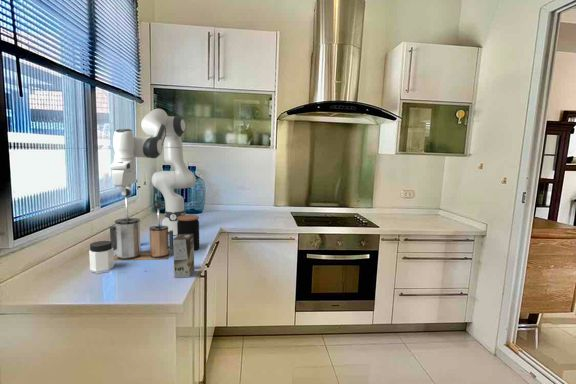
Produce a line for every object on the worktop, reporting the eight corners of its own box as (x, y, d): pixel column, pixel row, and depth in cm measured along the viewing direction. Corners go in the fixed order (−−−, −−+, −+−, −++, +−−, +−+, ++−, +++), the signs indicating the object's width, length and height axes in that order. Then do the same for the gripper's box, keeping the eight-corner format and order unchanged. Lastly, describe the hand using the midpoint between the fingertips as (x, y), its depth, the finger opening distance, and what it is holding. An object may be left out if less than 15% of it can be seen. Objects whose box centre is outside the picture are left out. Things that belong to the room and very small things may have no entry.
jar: (99, 266, 144) (97, 240, 143) (117, 267, 144) (116, 240, 143) (86, 274, 135) (84, 246, 134) (106, 274, 135) (104, 246, 134)
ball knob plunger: (154, 236, 159) (153, 200, 157) (166, 236, 160) (165, 200, 157) (151, 239, 153) (150, 202, 151) (164, 239, 154) (163, 202, 152)
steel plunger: (122, 232, 157) (120, 187, 154) (138, 232, 158) (136, 187, 155) (117, 236, 150) (114, 189, 147) (133, 235, 151) (131, 189, 148)
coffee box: (189, 277, 134) (189, 239, 132) (173, 277, 133) (172, 239, 131) (194, 269, 143) (194, 233, 141) (179, 269, 142) (178, 233, 140)
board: (119, 254, 162) (119, 251, 162) (173, 252, 166) (173, 250, 166) (108, 263, 148) (108, 260, 148) (168, 261, 152) (167, 259, 152)
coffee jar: (191, 246, 176) (190, 214, 174) (203, 250, 170) (203, 216, 168) (173, 251, 168) (172, 216, 166) (185, 255, 162) (184, 219, 159)
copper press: (153, 253, 161) (152, 225, 159) (174, 252, 162) (174, 225, 160) (148, 258, 153) (147, 229, 151) (171, 257, 154) (170, 229, 153)
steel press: (116, 253, 159) (114, 218, 157) (143, 252, 161) (141, 217, 159) (108, 260, 149) (106, 222, 147) (136, 259, 151) (135, 222, 149)
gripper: (125, 163, 160) (126, 191, 161) (109, 165, 140) (110, 197, 141) (139, 163, 161) (140, 191, 162) (124, 165, 141) (126, 197, 142)
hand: (126, 194), depth 152 cm, fingers closed on steel plunger, 4 cm apart
